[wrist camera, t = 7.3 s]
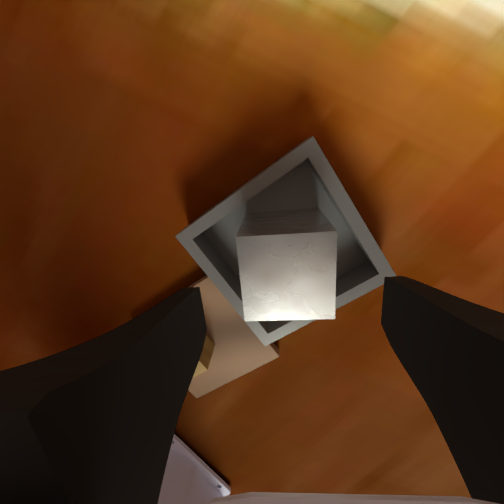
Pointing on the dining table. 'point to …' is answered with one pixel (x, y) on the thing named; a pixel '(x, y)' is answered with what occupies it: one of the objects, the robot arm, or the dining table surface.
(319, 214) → the grey block
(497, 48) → the dining table surface
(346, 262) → the bin
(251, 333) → the stud plate
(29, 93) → the dining table surface
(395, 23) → the dining table surface
